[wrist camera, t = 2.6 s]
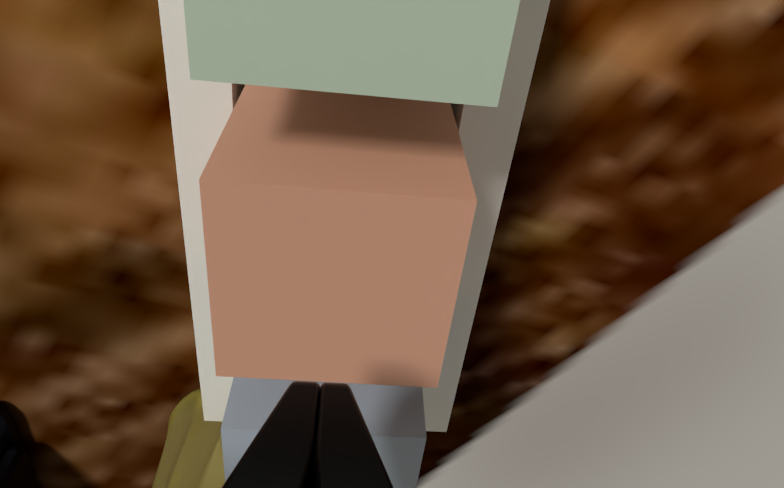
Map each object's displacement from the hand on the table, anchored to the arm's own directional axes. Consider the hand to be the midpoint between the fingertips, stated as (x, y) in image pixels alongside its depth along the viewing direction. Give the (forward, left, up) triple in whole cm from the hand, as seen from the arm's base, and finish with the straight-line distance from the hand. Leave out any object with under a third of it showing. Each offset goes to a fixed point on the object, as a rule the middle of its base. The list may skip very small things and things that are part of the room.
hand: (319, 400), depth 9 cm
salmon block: (0, 0, -7) cm, 7 cm away
